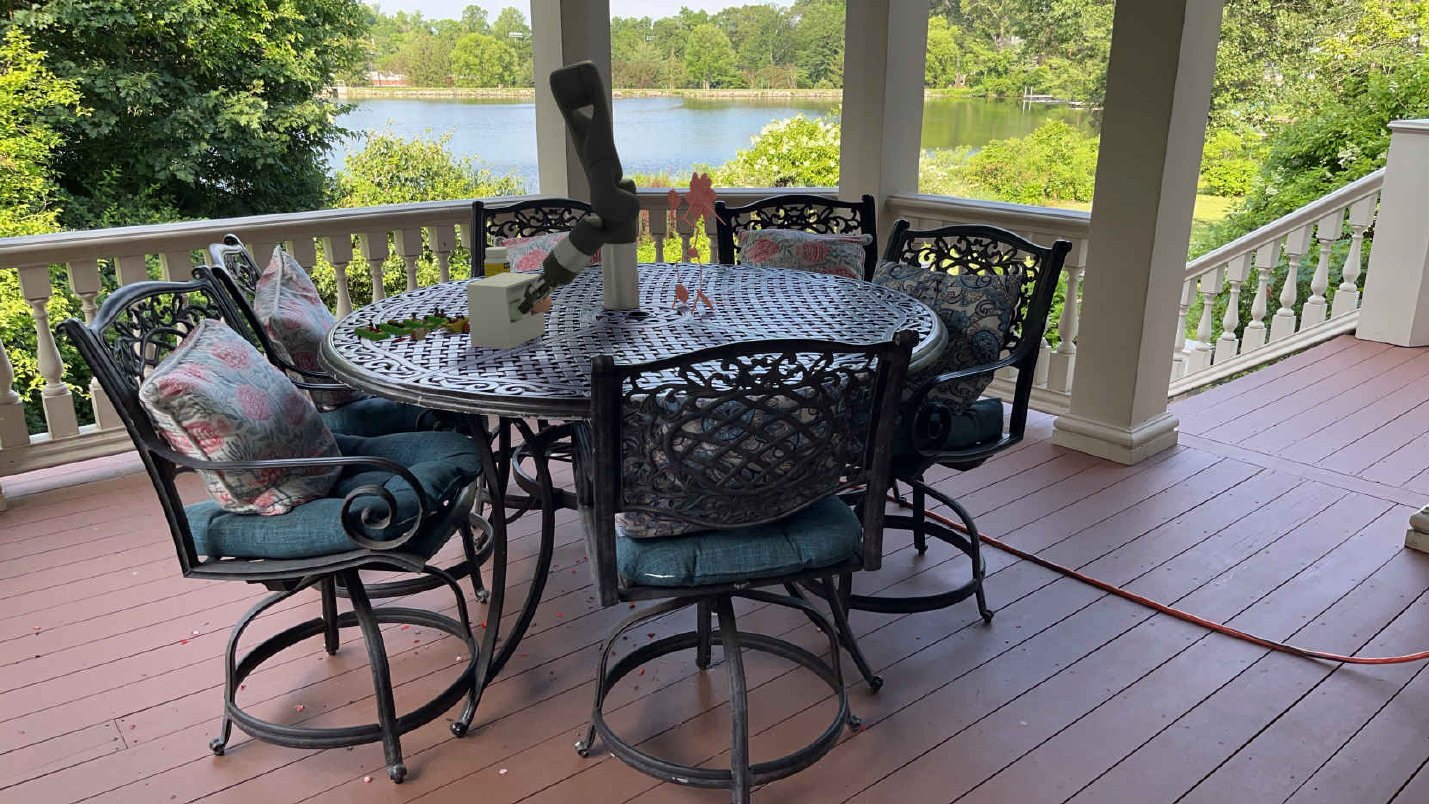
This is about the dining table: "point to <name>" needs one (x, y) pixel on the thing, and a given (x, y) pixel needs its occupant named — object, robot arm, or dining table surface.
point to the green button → (515, 310)
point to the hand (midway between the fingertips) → (522, 311)
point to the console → (501, 311)
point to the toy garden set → (415, 326)
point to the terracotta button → (543, 305)
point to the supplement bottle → (496, 261)
